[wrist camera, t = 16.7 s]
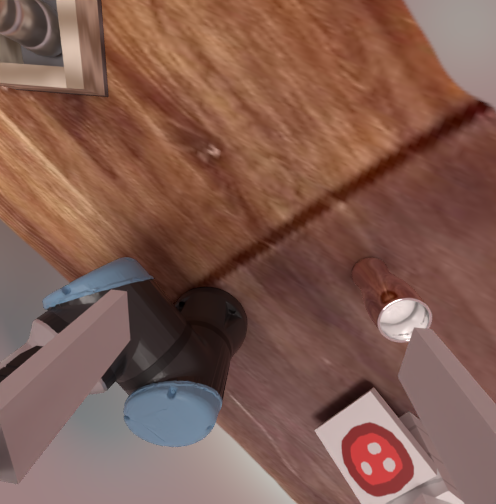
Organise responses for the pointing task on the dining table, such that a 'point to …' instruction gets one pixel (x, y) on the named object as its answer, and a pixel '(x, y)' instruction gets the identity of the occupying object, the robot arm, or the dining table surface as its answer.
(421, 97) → the dining table surface
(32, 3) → the plastic bottle
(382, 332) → the beer glass
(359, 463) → the pizza boxes
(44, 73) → the bottle holder
